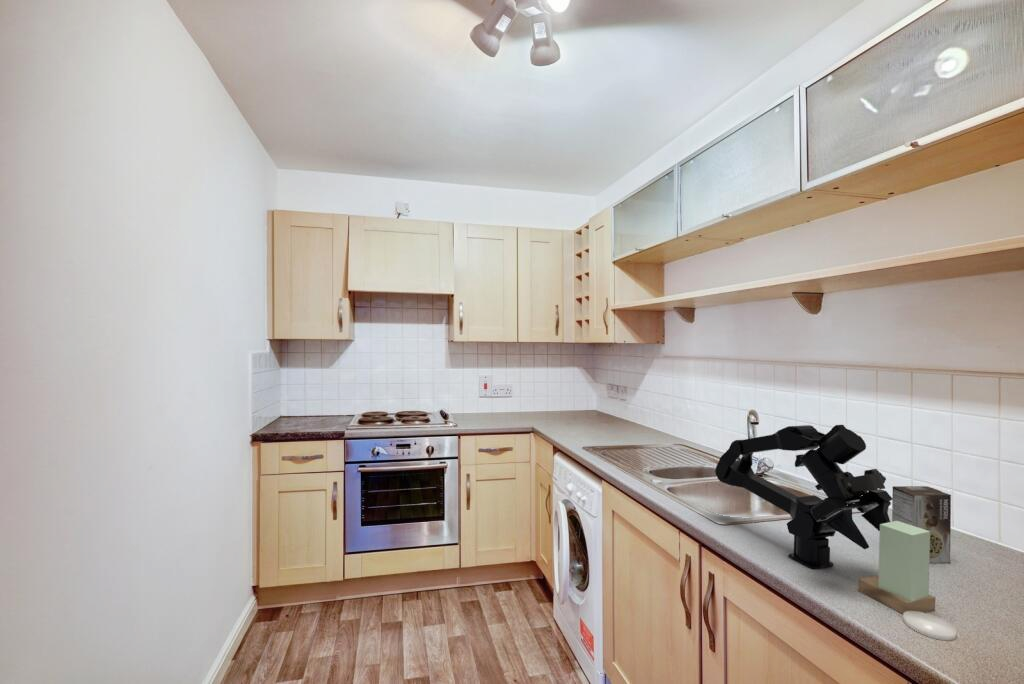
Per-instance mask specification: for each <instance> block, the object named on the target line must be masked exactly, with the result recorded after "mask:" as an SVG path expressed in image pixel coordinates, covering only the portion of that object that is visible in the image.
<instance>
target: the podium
mask: <svg viewBox="0 0 1024 684" xmlns="http://www.w3.org/2000/svg"><path fill="white" fill-rule="evenodd" d="M878 582H879V574H877V575H873V576H872V575H871V576H867V577H861V578H858V587H857V589H858V590H857V591H858V592H859V591H860V593H861V592H862V594H863V593H864V595H865V594H866V595H865V596H867V595H868V596H867V597H869V596H870V597H869V598H871V597H872V598H871V599H873V600H875V601H877V602H879V603H881V604H882V605H884V604H885V605H884V606H886V605H887V607H888V606H889V608H890V607H891V608H890V609H892V608H893V609H892V610H894V611H896V612H898V613H900V614H902V615H903V614H904V612H906V611H919V612H925V613H929V612H934V611H936V596H934V595H931V594H929V597H926V598H923V599H920V600H916V601H913V602H910V601H907V600H905V599H903V598H901V597H899V596H896V595H894V594H892V593H890V592H888V591H885V590H883V589H881V588H879V587H878Z"/></svg>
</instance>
